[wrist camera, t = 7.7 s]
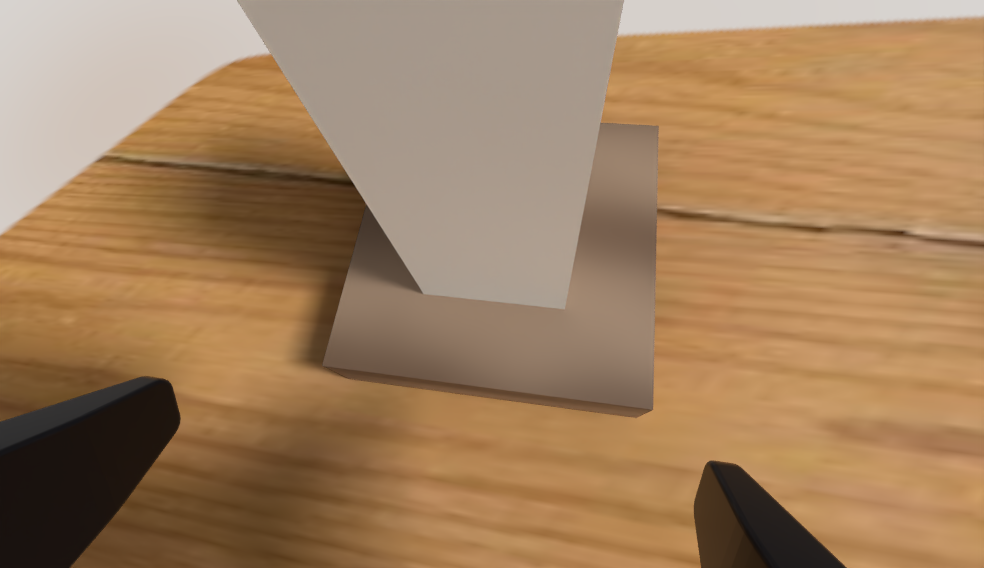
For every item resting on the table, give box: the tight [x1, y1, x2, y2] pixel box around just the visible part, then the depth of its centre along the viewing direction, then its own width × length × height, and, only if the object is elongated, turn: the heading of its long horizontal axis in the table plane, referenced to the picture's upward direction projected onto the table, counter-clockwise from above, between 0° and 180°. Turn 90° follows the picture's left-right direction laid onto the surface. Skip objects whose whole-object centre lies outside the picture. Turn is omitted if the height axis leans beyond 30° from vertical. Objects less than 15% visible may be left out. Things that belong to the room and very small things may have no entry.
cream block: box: [237, 0, 624, 309], centre depth 11 cm, size 5×5×13 cm
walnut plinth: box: [322, 123, 659, 418], centre depth 18 cm, size 11×11×2 cm
